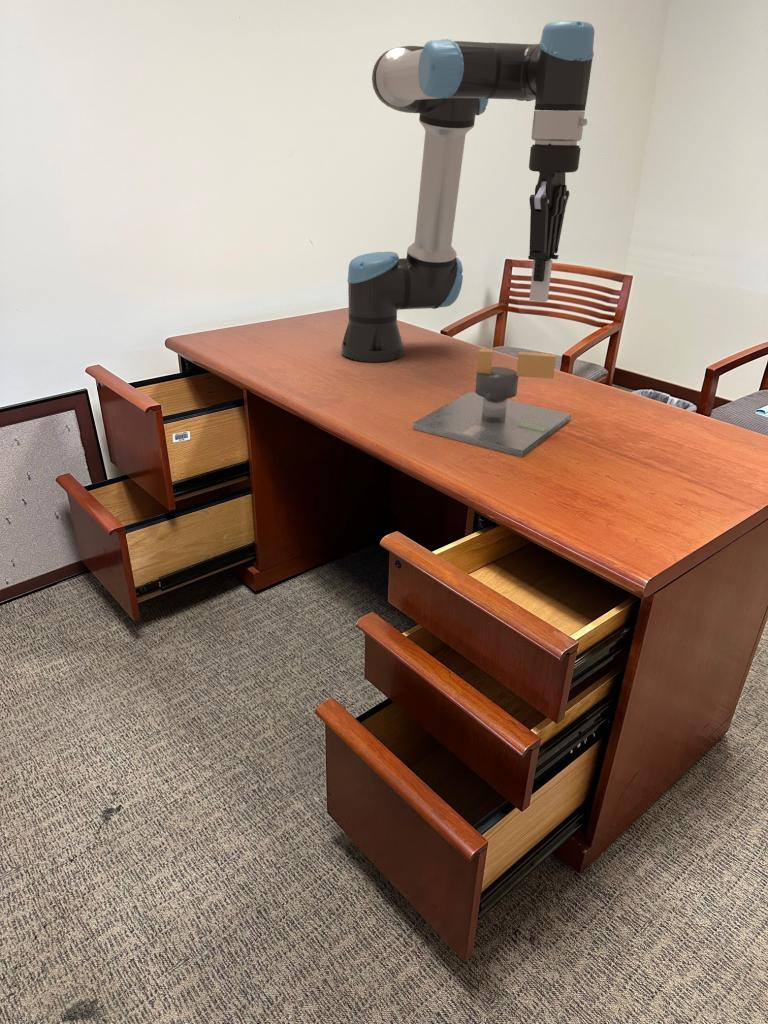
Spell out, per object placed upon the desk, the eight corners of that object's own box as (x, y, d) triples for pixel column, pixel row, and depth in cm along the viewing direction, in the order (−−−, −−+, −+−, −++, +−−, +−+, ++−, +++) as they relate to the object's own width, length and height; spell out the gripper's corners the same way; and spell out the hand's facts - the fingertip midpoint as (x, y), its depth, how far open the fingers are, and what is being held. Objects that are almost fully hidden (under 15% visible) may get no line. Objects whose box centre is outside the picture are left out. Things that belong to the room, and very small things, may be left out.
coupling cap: (473, 397, 133) (476, 355, 130) (477, 384, 140) (480, 344, 136) (550, 403, 131) (555, 361, 127) (551, 390, 138) (556, 349, 134)
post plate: (469, 397, 152) (471, 369, 150) (570, 419, 142) (574, 390, 139) (413, 428, 136) (414, 398, 133) (521, 457, 126) (525, 424, 123)
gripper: (567, 144, 105) (547, 310, 117) (591, 143, 115) (571, 296, 127) (518, 143, 109) (503, 304, 120) (545, 141, 119) (530, 291, 130)
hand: (538, 300), depth 123 cm, fingers closed
